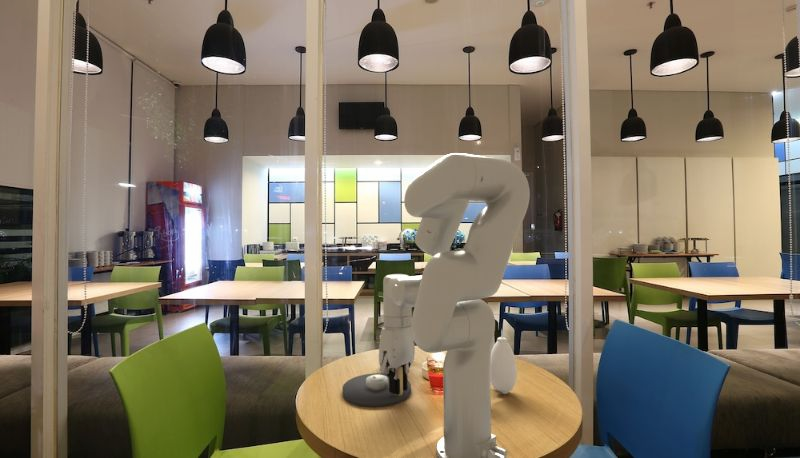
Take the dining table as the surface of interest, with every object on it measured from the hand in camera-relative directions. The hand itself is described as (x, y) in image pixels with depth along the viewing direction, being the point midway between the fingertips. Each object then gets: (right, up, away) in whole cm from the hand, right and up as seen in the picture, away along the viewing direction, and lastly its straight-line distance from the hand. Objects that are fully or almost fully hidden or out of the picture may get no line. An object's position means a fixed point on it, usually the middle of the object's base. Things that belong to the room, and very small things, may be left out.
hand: (398, 390), depth 98 cm
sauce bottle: (+29, -4, +7) cm, 30 cm away
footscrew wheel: (-6, -2, +5) cm, 8 cm away
